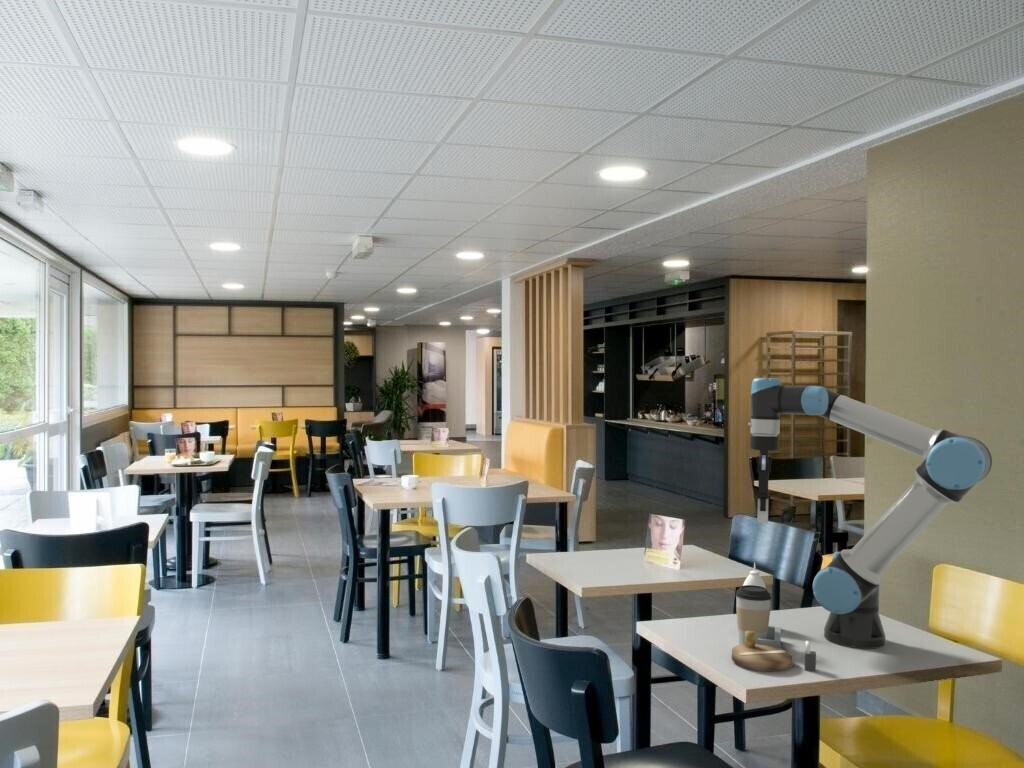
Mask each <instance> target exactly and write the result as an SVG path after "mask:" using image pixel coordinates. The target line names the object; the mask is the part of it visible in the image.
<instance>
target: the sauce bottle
mask: <svg viewBox="0 0 1024 768" xmlns="http://www.w3.org/2000/svg"><path fill="white" fill-rule="evenodd" d="M756 568H757V567H756V562H755V561H754V564H753V570H750V571H749V574H748V576H747V577H746V578H745V580H744V582H743V584H742V586H744V585H754V586H760V587H764V588H766V589H767V587H766V585H765V582H764V580H763V578H762V577H761V575H760V571H757V570H756Z"/></svg>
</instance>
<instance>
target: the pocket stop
mask: <svg viewBox="0 0 1024 768" xmlns="http://www.w3.org/2000/svg"><path fill="white" fill-rule="evenodd" d="M781 629H782V628H781V626H780V627H778V626H775V625H768V631H767V639H761V638H758V641H757V645H766V646H772V647H776V648H780V649H781V645H782V644H781V639H782V637H781V634H782V633H781V632H782V631H781Z"/></svg>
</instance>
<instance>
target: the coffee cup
mask: <svg viewBox="0 0 1024 768" xmlns="http://www.w3.org/2000/svg"><path fill="white" fill-rule="evenodd" d="M735 597H736V604H735V606H736V607H735V609H736V623H737V625H736V626H737V633H738V636H737V637H738V645H745V631H754V632H755V644H757V641H758V638H761V639H767V631H768V626H770V625H769V624H770V616H771V600H772V599H773V597H772V596H771V593H770V592H769V591H768V589H767V587H766V588H764V587H760V586H754V585H744V586H743V585H740V587H739V588H738V589H737V590H736V593H735Z"/></svg>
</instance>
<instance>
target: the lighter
mask: <svg viewBox="0 0 1024 768" xmlns="http://www.w3.org/2000/svg"><path fill="white" fill-rule="evenodd" d="M816 668H817V652H816V651H813V650H811V641H810V640H805V649H804V671H807V672H816V671H817V669H816Z"/></svg>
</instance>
